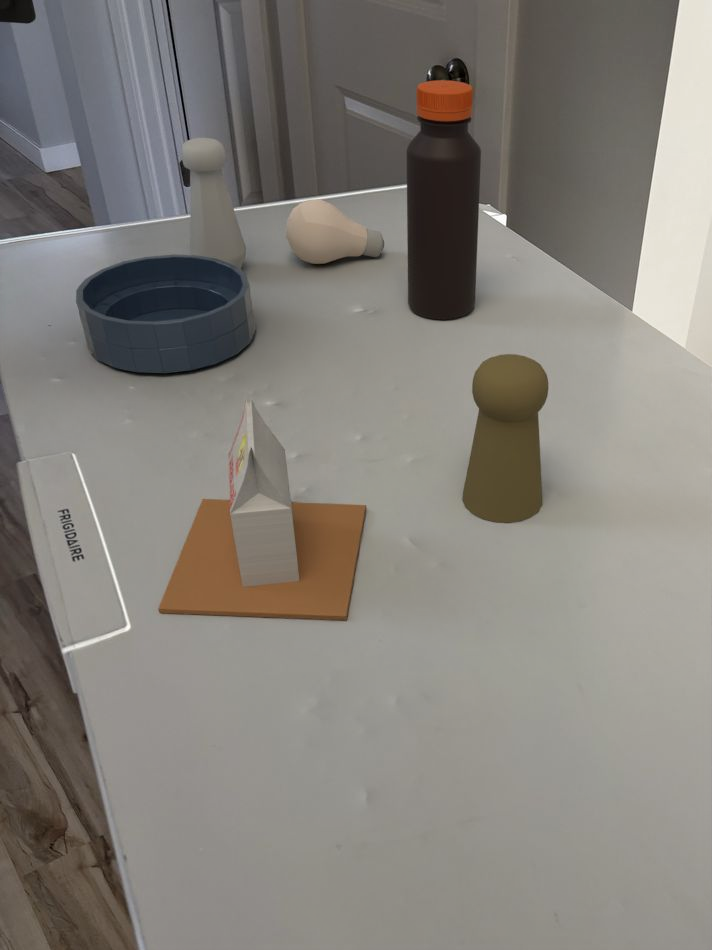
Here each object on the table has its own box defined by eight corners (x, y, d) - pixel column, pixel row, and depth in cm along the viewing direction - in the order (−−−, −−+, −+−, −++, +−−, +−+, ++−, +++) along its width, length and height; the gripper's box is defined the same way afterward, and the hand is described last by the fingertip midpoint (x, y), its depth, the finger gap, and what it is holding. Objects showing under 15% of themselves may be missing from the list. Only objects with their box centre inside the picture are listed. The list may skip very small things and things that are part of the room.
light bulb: (386, 202, 103) (289, 180, 98) (398, 235, 99) (297, 214, 94) (370, 255, 107) (276, 236, 103) (380, 288, 103) (283, 270, 99)
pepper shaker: (458, 476, 71) (462, 343, 64) (536, 474, 72) (549, 342, 64) (466, 524, 67) (471, 387, 59) (549, 521, 67) (564, 384, 60)
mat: (159, 613, 59) (158, 608, 59) (203, 503, 68) (202, 498, 68) (346, 620, 59) (346, 616, 59) (366, 509, 68) (366, 504, 68)
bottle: (487, 303, 95) (498, 85, 82) (451, 327, 91) (457, 101, 77) (431, 287, 98) (433, 73, 84) (394, 310, 93) (390, 88, 80)
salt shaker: (240, 257, 102) (223, 129, 94) (255, 276, 99) (239, 145, 90) (187, 265, 100) (165, 136, 92) (201, 285, 97) (179, 152, 88)
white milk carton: (293, 520, 66) (278, 395, 59) (299, 581, 61) (284, 452, 54) (240, 525, 66) (219, 399, 59) (242, 587, 61) (220, 457, 54)
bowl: (65, 374, 82) (50, 320, 79) (117, 301, 93) (106, 252, 90) (236, 380, 82) (228, 327, 79) (268, 306, 93) (262, 257, 90)
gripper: (-39, -365, 55) (35, -20, 66) (-212, -407, 42) (-83, 30, 53) (87, -358, 55) (140, -14, 66) (-48, -398, 42) (47, 38, 53)
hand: (40, 5), depth 60 cm, fingers open, 9 cm apart
